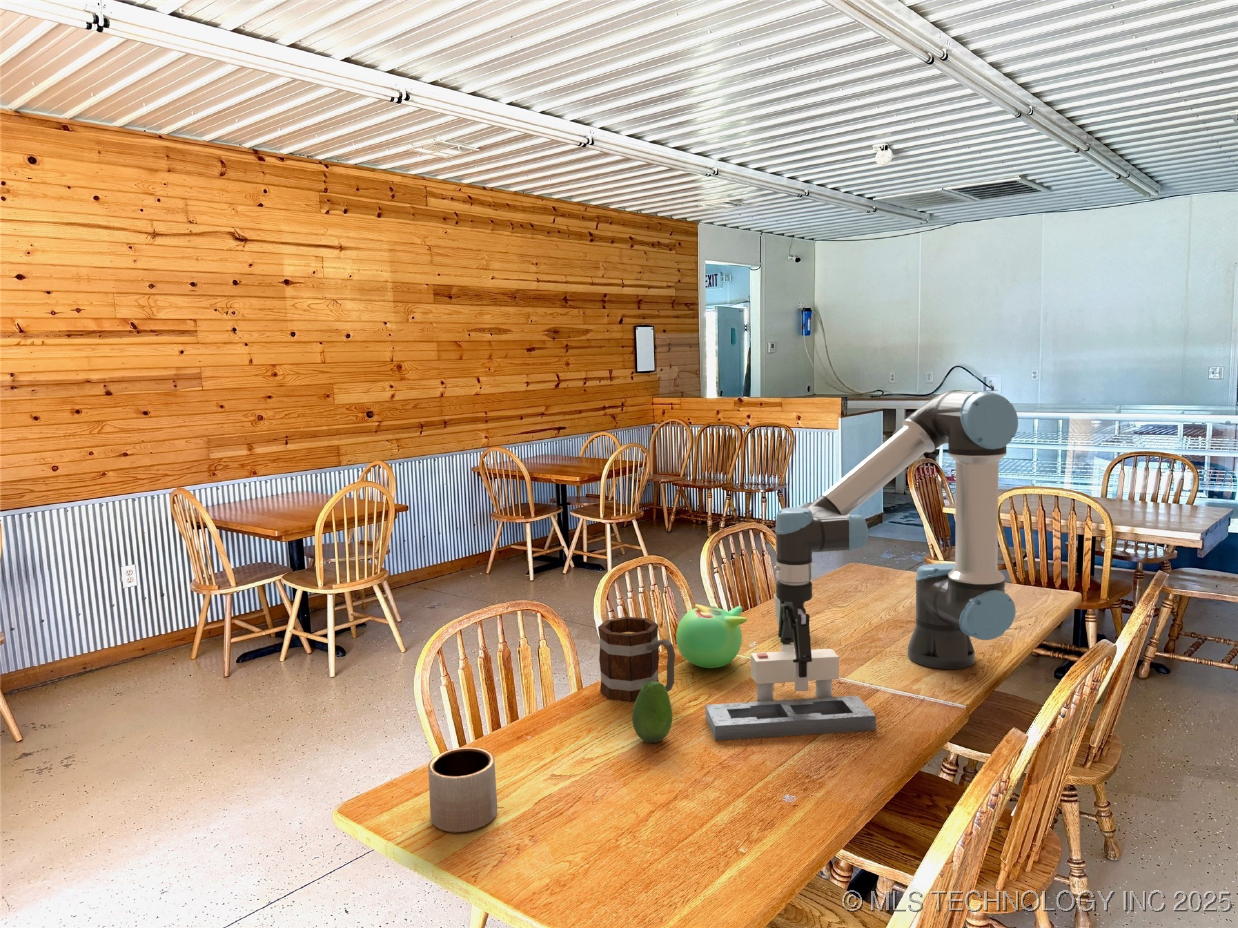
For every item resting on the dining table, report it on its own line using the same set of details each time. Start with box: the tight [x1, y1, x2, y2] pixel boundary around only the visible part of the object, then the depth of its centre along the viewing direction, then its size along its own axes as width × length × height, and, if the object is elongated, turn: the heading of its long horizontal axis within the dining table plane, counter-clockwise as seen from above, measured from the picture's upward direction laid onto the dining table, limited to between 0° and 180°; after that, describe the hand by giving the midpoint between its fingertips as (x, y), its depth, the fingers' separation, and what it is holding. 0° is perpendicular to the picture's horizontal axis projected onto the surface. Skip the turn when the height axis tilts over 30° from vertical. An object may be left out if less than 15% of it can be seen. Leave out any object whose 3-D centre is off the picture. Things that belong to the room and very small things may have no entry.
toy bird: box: [675, 604, 748, 669], centre depth 201 cm, size 18×17×15 cm
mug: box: [597, 616, 676, 703], centre depth 184 cm, size 20×14×15 cm
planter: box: [427, 746, 498, 834], centre depth 137 cm, size 11×11×10 cm
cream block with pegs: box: [750, 648, 840, 702], centre depth 180 cm, size 18×5×10 cm, turn 95°
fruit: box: [631, 681, 673, 744], centre depth 162 cm, size 8×8×12 cm
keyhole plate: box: [705, 694, 877, 742], centre depth 167 cm, size 32×10×3 cm, turn 95°
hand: (794, 681), depth 180 cm, fingers open, 9 cm apart
